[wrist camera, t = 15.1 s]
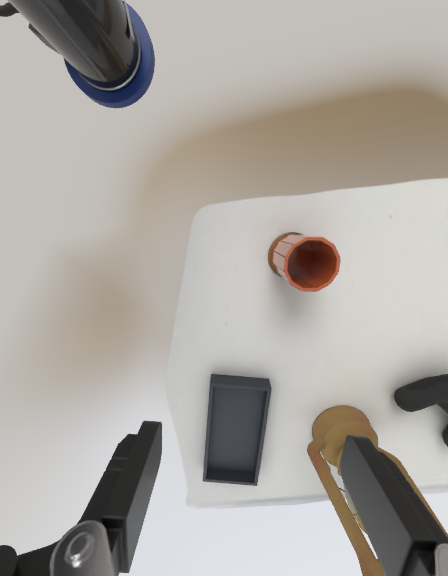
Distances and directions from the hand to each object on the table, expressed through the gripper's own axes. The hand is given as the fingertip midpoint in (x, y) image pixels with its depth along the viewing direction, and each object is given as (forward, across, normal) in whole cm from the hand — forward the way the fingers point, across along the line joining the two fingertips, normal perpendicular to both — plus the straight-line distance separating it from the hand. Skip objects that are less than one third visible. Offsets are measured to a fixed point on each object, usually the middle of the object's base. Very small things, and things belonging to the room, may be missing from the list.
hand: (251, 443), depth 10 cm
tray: (+29, -2, +27) cm, 40 cm away
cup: (+29, -8, -5) cm, 30 cm away
